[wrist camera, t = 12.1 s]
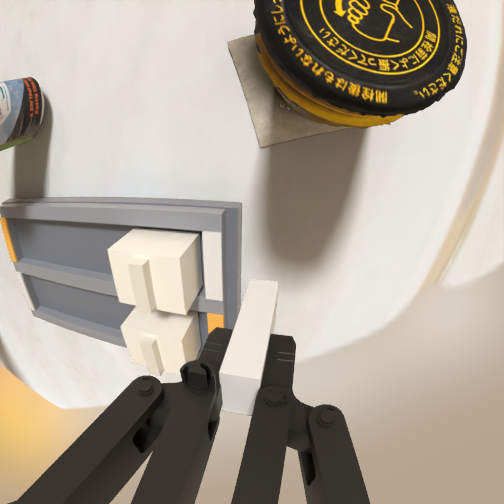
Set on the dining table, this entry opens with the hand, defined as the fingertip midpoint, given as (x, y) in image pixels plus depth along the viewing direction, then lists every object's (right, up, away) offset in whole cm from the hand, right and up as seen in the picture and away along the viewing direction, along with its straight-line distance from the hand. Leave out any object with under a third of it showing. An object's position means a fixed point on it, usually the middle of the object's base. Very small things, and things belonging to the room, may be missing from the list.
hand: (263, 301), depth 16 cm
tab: (-7, -3, +7) cm, 11 cm away
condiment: (+3, +13, -1) cm, 14 cm away
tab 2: (-7, +2, +4) cm, 8 cm away
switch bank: (-14, +1, +8) cm, 16 cm away
